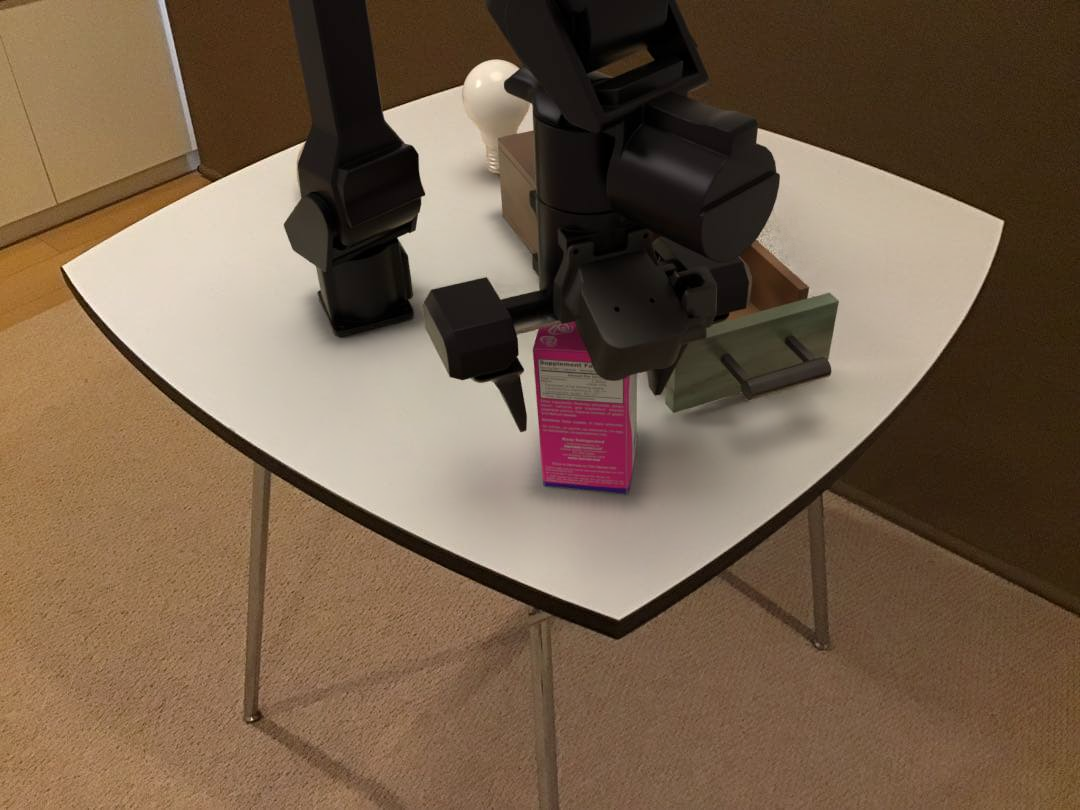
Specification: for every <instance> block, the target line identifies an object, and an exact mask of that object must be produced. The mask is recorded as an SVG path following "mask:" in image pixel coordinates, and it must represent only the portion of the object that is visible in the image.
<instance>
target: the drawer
mask: <svg viewBox="0 0 1080 810" xmlns="http://www.w3.org/2000/svg"><path fill="white" fill-rule="evenodd" d="M659 237H662V236H660V235H658V234H656V233H654V232H652V243H653V242H654V241H655V240H656V239H657V238H659ZM739 257H740V258H741V259H742V260H743V261H744V262H745V263H746V264H747V265H748V266H749V269H750V272H751V276H752V287H751V296H750V302H749V304H748V306H747V308H746V309H742V310H738V311H734V312H730V315H729V317H728V318H727V319H726V320H725V321H723V322H720V323H716V324H713V325H711V327H710V328H706V333H707V335H706V338H705V339H703V340H698V341H695V342H691V343H689V344H688V346H687V347H686V349H685V351H684V352H683V354H682V356H681V358H680V360H679V362H678V364H677V365H676V367H675V369H674V371H673V373H672V375H671V377H670V379H669V380H668V382H667V384H666V386H665V389H666V390H665V405H666V406H667V408H668V409H669V410H670V411H671V412H672V414H676V413H679V412H683V411H686V410H689V409H692V408H696V407H700V406H703V405H706V404H709V403H713V402H716V401H720V400H723V399H726V398H730V397H733V396H737V395H740V394H742V396H743V397H744V399H745V400H746V401H747V402H750V401H753V400H757V399H760V398H764V397H768V396H770V395H774V394H778V393H780V392H783V391H787V390H791V389H794V388H796V387H800V386H804V385H807V384H811V383H814V382H816V381H817V382H818V381H821V380H824V379H827V378H830V376H831V375H832V366H831V363H830V361H829V359H830V352H831V347H832V343H833V336H834V331H835V326H836V321H837V314H838V309H839V304H840V301H839V299H838V298H836V297H835V296H834V295H833V294H832V293H831V292H826V293H822V294H818V295H815V296H811V297H809V292H810V286H809V285H808V284H807V283H805V282H804V281H803V280H802V279H801V278H800V277H798V276H797V275H796V274H795V273H794V272H793V271H792V270H791V269H789V268H788V267H787V266H786V265H785V264H784V263H783V262H782V261H781V260H780V259H778V258H777V257H776V256H775V255H774V254H773V253H772V252H771V251H770V250H769V249H767V248H766V247H765V246H764V245H763V244H762V243H760V242H759V241H758V240H757V239H756V240H755V241H754V242H753V244H752V245H751V246H750V247H749V248H748V249H747V250H746V251H745V252H744V253H742V254H741V255H740V256H739Z"/></svg>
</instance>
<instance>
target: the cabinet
mask: <svg viewBox="0 0 1080 810" xmlns="http://www.w3.org/2000/svg"><path fill="white" fill-rule="evenodd" d="M498 153H499V169H500V175H499V180H500V181H499V182H500V184H499V185H500V199H501V213H502V214H501V215H502V217H503V218H504V219H505V221H506V222H507V223H508V225H509V226H510V227H511V228H512V230H513V232H515V234H516V235H517V237H519V239H520V240H521V241H522V242H523V244H524V245H525V247H526V248H527V250H529V252H530V253H531V255H532V254H533V253H538V239H537V215H536V214H535V213H534V211H533V210H532V209H531V207H530V196H529V191H531V190H536V186H535V161H534V135H533V130H529V131H524V132H519V133H518V132H517V134H514V135H509V136H504V137H499V138H498Z"/></svg>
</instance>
